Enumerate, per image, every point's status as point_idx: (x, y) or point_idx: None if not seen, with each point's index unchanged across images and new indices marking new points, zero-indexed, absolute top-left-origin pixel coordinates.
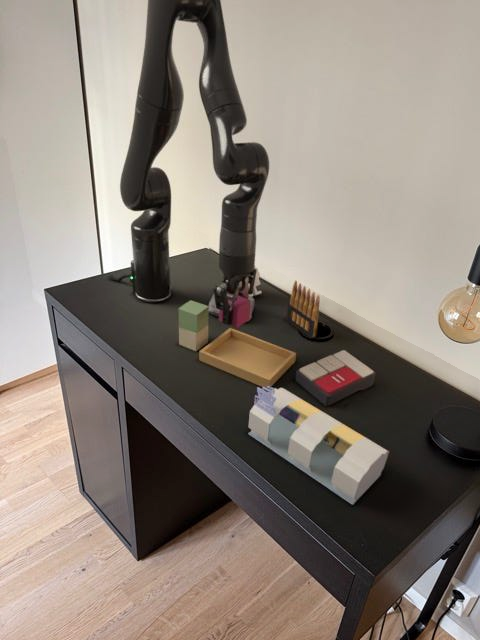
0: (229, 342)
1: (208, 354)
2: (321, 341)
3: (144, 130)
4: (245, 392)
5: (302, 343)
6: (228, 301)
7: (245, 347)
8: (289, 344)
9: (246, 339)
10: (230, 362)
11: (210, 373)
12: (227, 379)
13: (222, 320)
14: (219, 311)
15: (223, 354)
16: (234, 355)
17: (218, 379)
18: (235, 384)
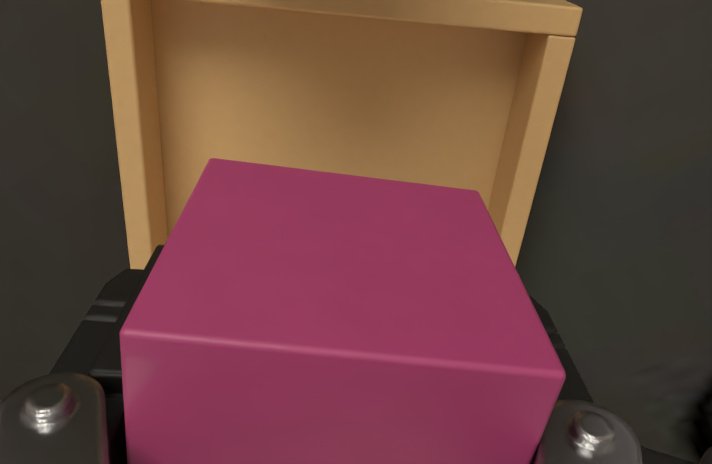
0: (448, 51)
1: (112, 56)
2: (700, 453)
3: None
4: (68, 337)
5: (646, 395)
6: (222, 447)
7: (441, 178)
8: (610, 350)
9: (506, 168)
10: (141, 234)
11: (63, 106)
12: (91, 220)
13: (105, 287)
14: (174, 227)
15: (280, 91)
16: (314, 159)
17: (51, 177)
18: (85, 273)
